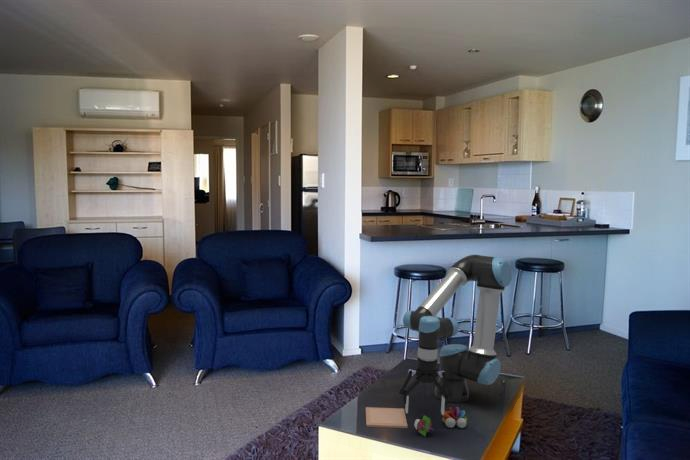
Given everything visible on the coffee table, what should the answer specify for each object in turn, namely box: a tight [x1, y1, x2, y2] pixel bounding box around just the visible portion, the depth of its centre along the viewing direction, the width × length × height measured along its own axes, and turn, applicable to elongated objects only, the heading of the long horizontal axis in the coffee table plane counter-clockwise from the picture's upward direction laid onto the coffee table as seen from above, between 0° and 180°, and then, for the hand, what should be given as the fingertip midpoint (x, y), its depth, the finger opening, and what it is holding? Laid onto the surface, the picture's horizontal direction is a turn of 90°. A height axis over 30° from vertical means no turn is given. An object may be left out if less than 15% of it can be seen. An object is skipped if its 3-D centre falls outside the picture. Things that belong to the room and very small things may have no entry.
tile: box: [365, 406, 409, 429], centre depth 215 cm, size 16×16×1 cm
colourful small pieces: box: [442, 406, 468, 429], centre depth 212 cm, size 8×10×7 cm
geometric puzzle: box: [414, 414, 435, 438], centre depth 203 cm, size 7×7×8 cm
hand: (424, 412), depth 202 cm, fingers open, 13 cm apart
